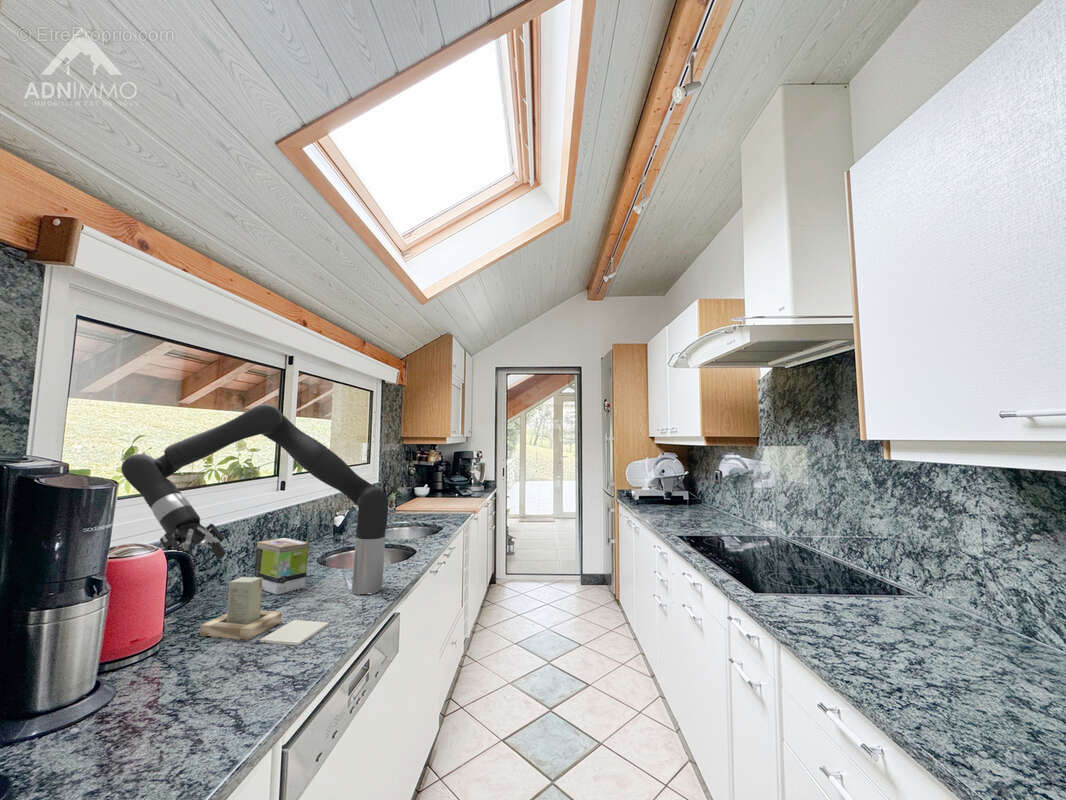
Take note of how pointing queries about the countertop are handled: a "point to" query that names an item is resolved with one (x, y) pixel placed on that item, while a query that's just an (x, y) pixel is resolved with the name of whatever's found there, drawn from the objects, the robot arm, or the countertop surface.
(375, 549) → the robot arm
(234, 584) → the skincare box
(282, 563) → the tea box
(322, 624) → the pad
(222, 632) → the frame
